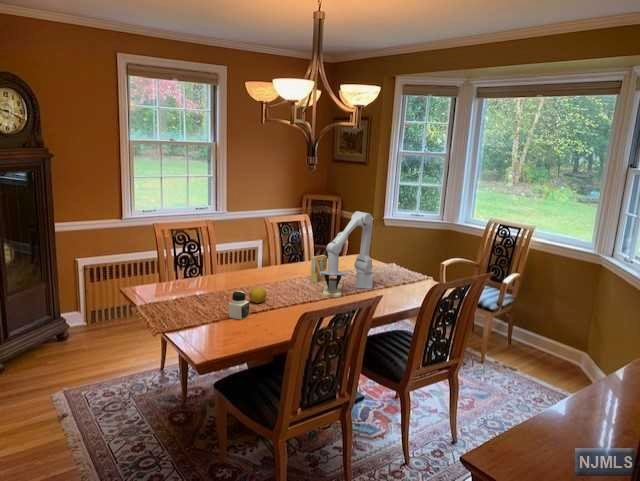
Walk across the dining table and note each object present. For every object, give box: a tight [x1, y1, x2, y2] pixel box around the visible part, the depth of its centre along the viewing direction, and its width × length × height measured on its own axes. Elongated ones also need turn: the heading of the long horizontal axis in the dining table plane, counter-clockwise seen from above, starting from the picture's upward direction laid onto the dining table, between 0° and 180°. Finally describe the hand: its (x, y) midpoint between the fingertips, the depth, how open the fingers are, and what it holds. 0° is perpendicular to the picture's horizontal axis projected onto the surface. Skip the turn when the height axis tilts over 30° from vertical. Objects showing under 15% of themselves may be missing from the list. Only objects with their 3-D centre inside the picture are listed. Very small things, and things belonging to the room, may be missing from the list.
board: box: [322, 283, 343, 298], centre depth 272 cm, size 10×19×1 cm, turn 176°
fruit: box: [248, 286, 267, 304], centre depth 251 cm, size 9×8×8 cm
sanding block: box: [329, 277, 337, 293], centre depth 267 cm, size 4×7×6 cm, turn 176°
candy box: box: [310, 254, 328, 284], centre depth 289 cm, size 9×4×15 cm, turn 129°
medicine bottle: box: [228, 290, 250, 321], centre depth 231 cm, size 7×7×12 cm
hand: (332, 288), depth 268 cm, fingers closed on sanding block, 4 cm apart
